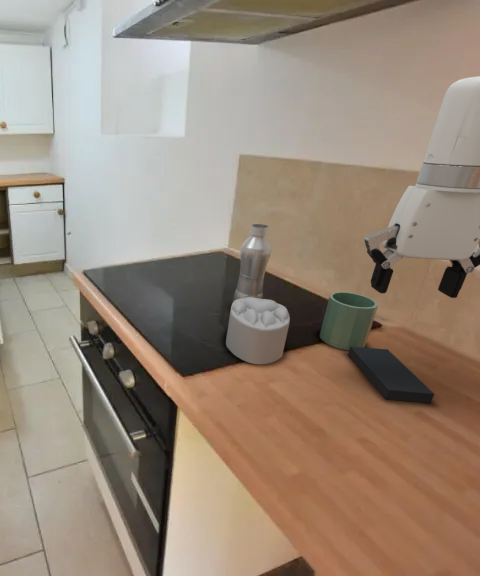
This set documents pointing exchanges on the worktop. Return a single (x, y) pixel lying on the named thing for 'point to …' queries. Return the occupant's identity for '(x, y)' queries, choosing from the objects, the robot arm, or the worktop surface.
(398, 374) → the dark blue flat block
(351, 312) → the cup
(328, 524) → the worktop surface
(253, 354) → the lumpy-topped squat cylinder
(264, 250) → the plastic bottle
